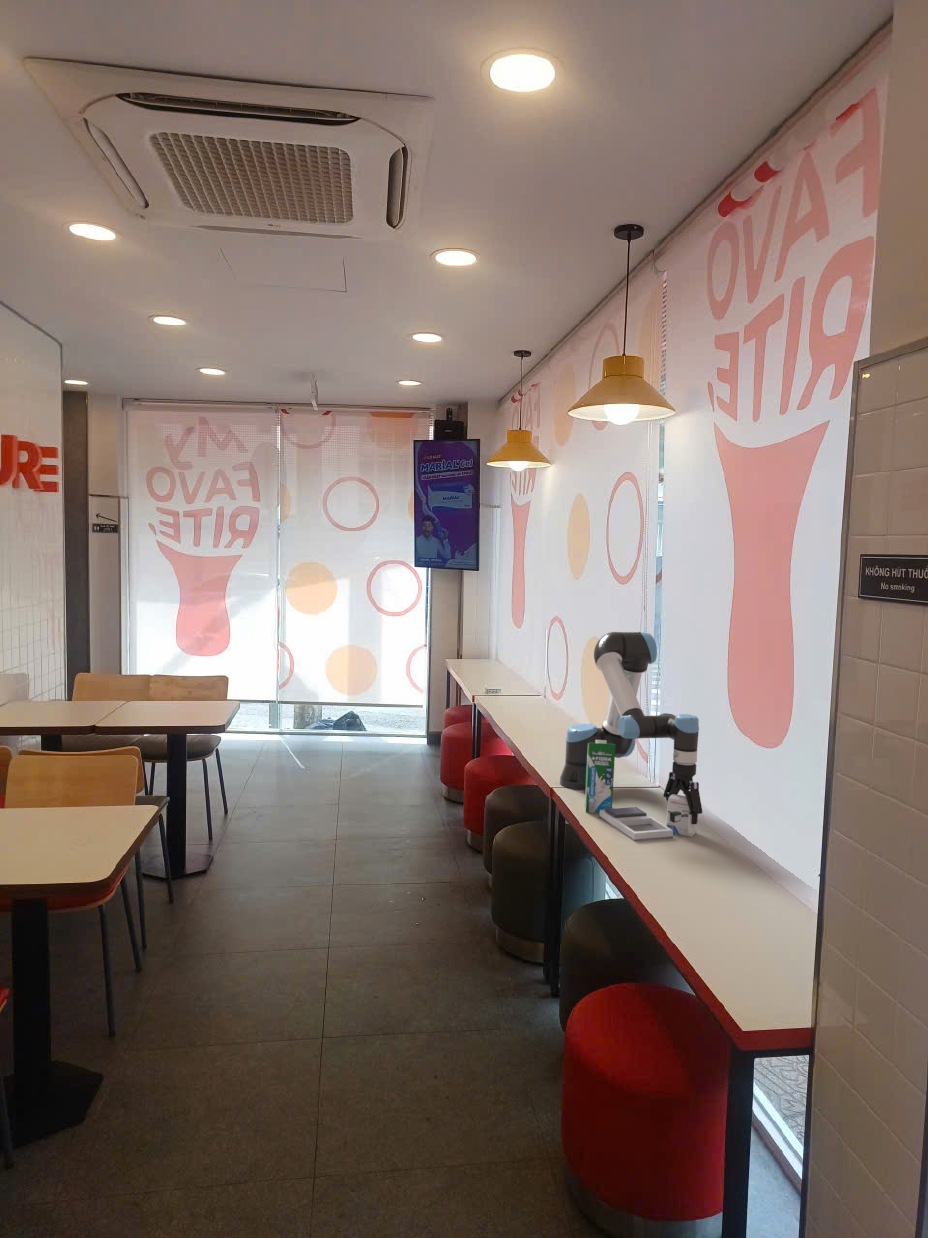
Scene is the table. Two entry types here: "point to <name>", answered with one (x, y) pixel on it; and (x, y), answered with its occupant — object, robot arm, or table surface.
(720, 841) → the table surface
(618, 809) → the phone slab
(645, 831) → the socket plate
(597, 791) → the milk carton
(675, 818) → the ink box
